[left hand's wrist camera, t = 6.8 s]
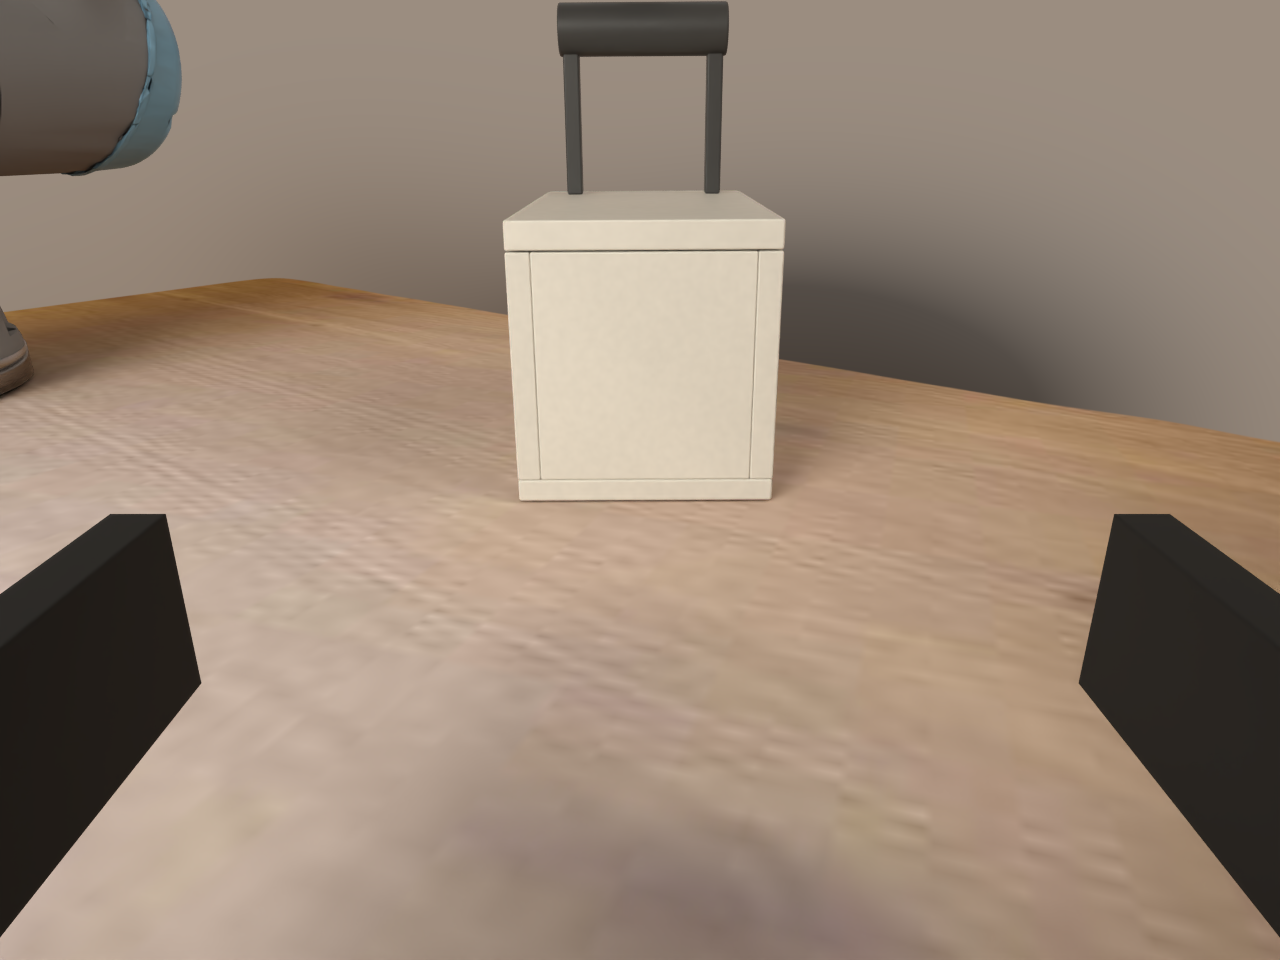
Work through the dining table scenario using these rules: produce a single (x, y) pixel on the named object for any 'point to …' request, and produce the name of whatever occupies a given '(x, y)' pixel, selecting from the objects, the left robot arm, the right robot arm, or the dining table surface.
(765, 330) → the chest
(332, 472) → the dining table surface
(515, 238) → the lid
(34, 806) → the left robot arm
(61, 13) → the right robot arm
